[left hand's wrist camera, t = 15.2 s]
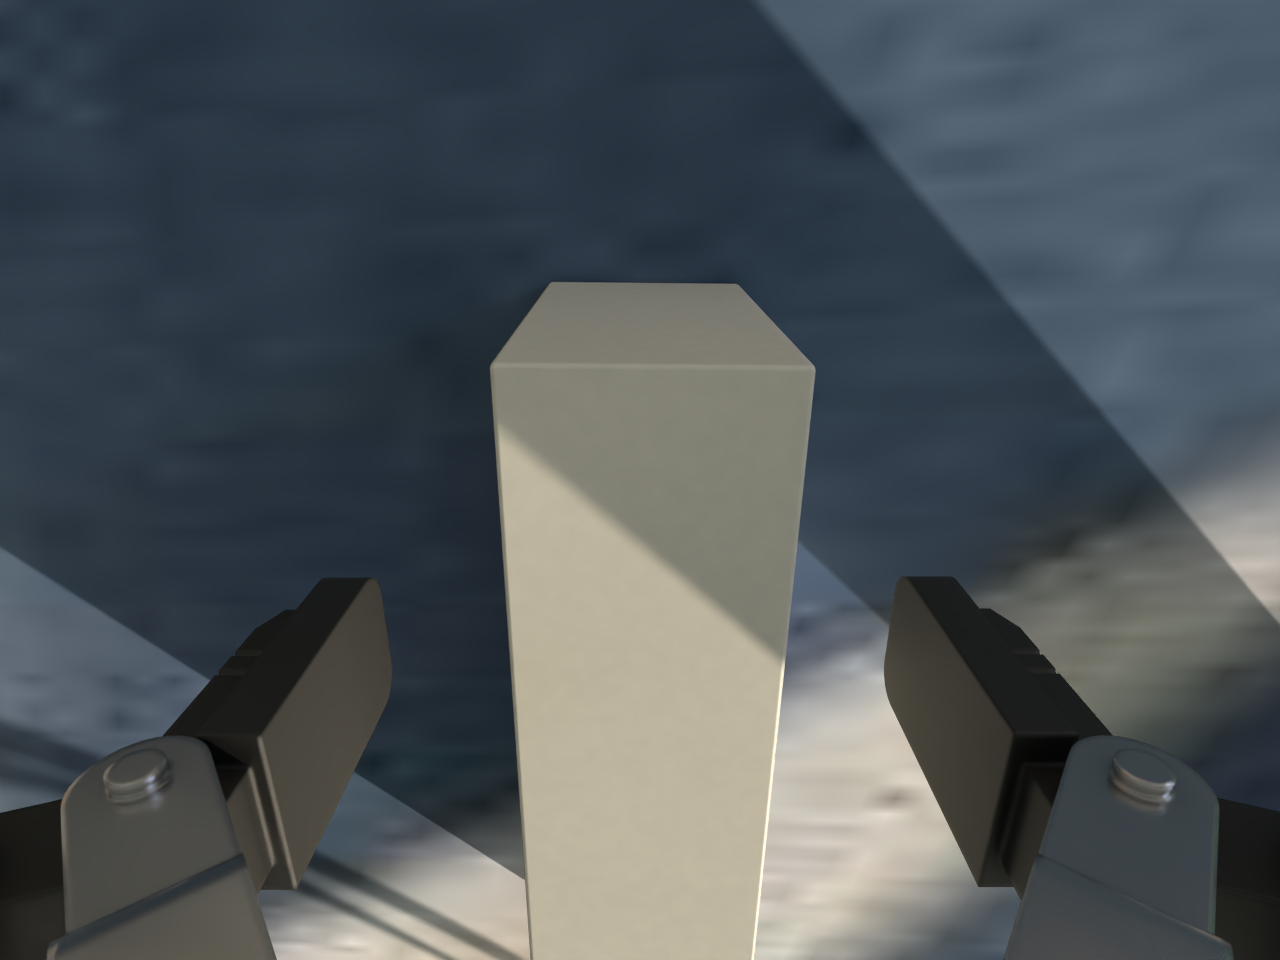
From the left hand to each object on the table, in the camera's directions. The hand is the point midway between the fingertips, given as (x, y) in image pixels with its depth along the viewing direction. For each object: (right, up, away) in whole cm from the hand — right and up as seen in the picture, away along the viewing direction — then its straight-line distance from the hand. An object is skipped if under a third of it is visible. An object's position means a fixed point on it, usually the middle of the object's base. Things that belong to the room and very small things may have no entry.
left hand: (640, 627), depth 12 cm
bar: (0, -4, +14) cm, 14 cm away
